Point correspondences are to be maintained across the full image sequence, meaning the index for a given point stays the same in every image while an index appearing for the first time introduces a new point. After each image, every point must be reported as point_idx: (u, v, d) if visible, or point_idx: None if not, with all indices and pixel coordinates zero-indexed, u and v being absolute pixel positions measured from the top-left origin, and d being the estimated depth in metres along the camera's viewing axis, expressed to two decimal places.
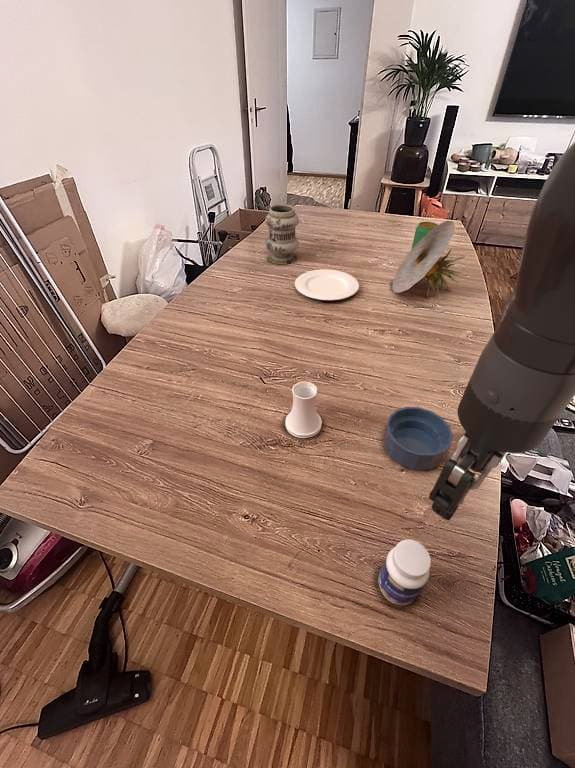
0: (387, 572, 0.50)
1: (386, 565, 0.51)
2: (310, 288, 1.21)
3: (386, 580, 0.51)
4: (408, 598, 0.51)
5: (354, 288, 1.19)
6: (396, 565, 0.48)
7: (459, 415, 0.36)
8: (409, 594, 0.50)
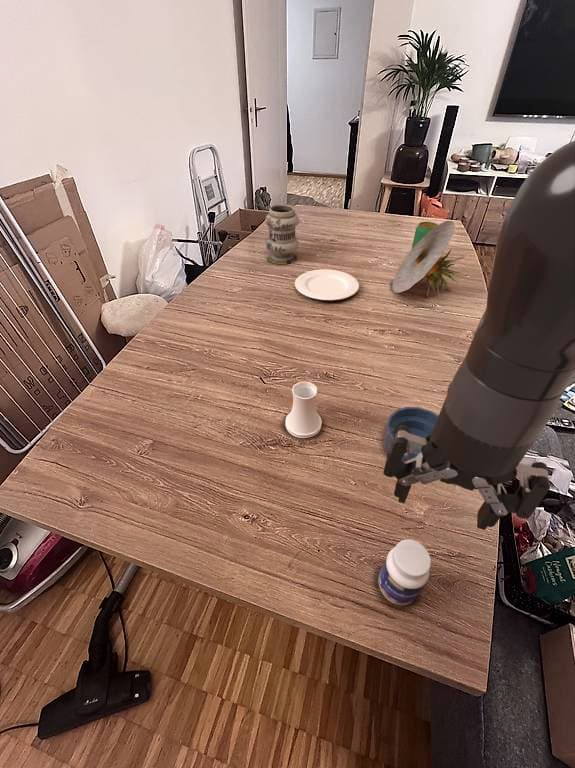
0: (387, 572, 0.50)
1: (386, 565, 0.51)
2: (310, 288, 1.21)
3: (386, 580, 0.51)
4: (408, 598, 0.51)
5: (354, 288, 1.19)
6: (396, 565, 0.48)
7: None
8: (409, 594, 0.50)
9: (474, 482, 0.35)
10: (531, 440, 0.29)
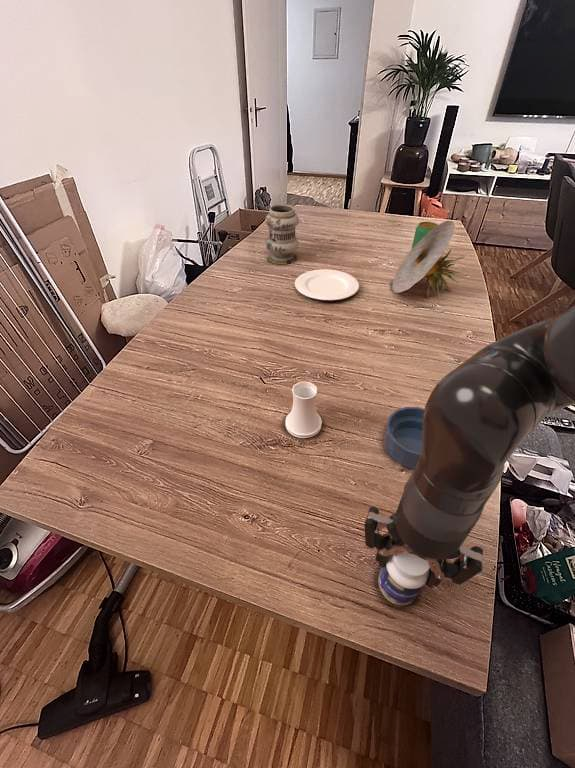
0: (387, 572, 0.50)
1: (386, 565, 0.51)
2: (310, 288, 1.21)
3: (386, 580, 0.51)
4: (408, 598, 0.51)
5: (354, 288, 1.19)
6: (396, 565, 0.48)
7: None
8: (409, 594, 0.50)
9: (426, 556, 0.44)
10: (462, 537, 0.38)
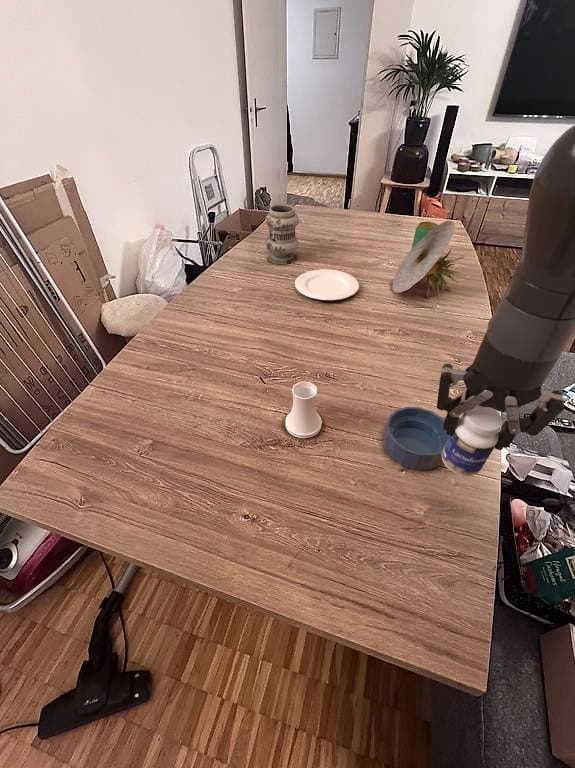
0: (457, 437, 0.51)
1: (455, 431, 0.51)
2: (310, 288, 1.21)
3: (454, 447, 0.52)
4: (476, 464, 0.52)
5: (354, 288, 1.19)
6: (468, 424, 0.49)
7: None
8: (479, 458, 0.51)
9: (506, 400, 0.44)
10: (554, 357, 0.38)
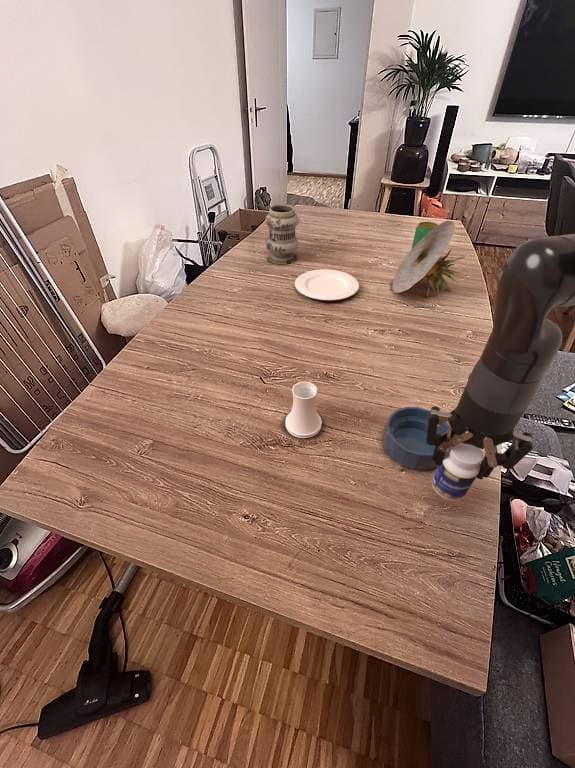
0: (444, 467, 0.59)
1: (442, 462, 0.59)
2: (310, 288, 1.21)
3: (442, 476, 0.60)
4: (461, 491, 0.59)
5: (354, 288, 1.19)
6: (453, 457, 0.57)
7: None
8: (463, 486, 0.58)
9: (484, 441, 0.52)
10: (521, 410, 0.46)
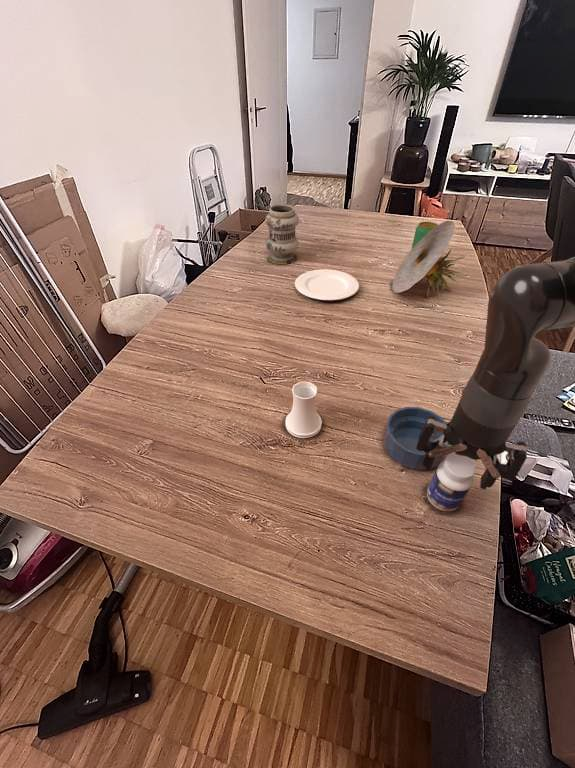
0: (438, 480, 0.61)
1: (437, 475, 0.61)
2: (310, 288, 1.21)
3: (436, 488, 0.62)
4: (455, 502, 0.62)
5: (354, 288, 1.19)
6: (447, 471, 0.59)
7: None
8: (456, 498, 0.61)
9: (478, 453, 0.54)
10: (512, 424, 0.48)
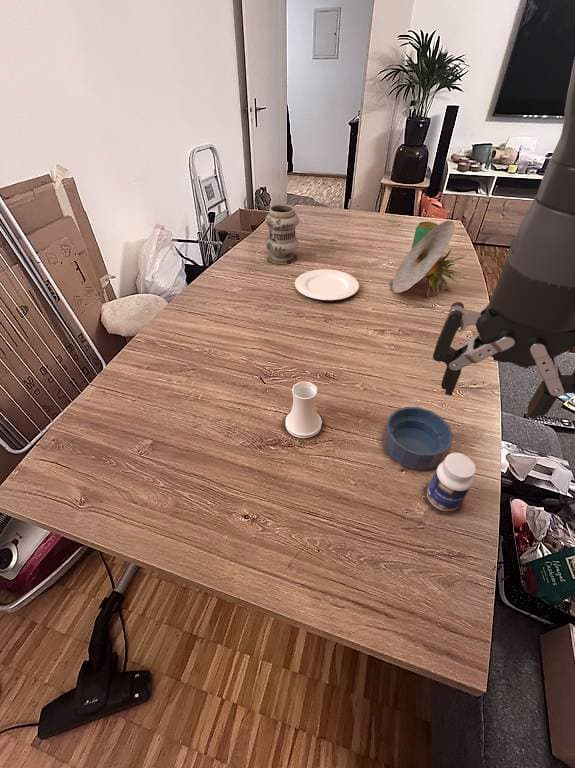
0: (438, 480, 0.61)
1: (437, 475, 0.61)
2: (310, 288, 1.21)
3: (436, 488, 0.62)
4: (455, 502, 0.62)
5: (354, 288, 1.19)
6: (447, 471, 0.59)
7: None
8: (456, 498, 0.61)
9: (532, 351, 0.34)
10: None
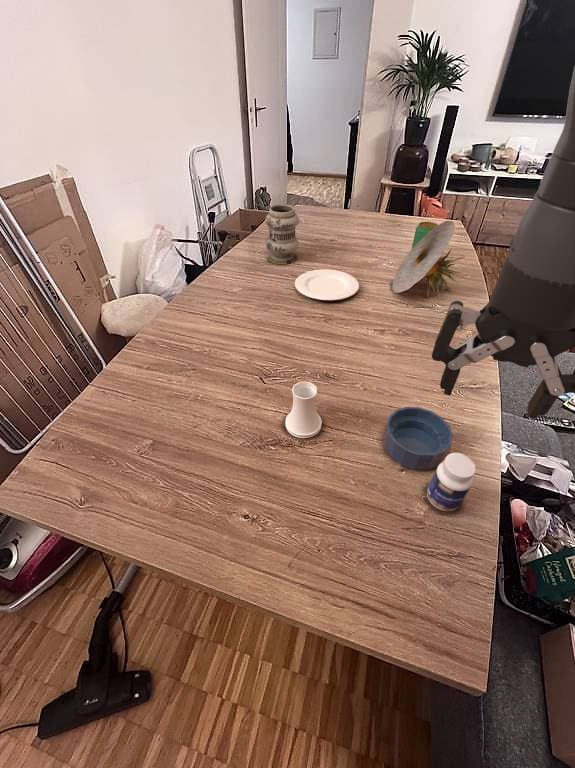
0: (438, 480, 0.61)
1: (437, 475, 0.61)
2: (310, 288, 1.21)
3: (436, 488, 0.62)
4: (455, 502, 0.62)
5: (354, 288, 1.19)
6: (447, 471, 0.59)
7: None
8: (456, 498, 0.61)
9: (532, 350, 0.34)
10: None
